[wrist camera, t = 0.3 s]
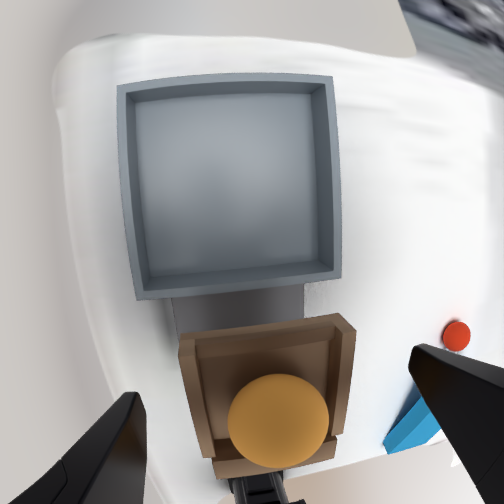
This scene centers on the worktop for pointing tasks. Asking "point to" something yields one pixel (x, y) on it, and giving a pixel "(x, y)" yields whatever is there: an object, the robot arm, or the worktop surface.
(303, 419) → the ball
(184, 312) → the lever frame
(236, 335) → the brown wooden angled piece
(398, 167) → the worktop surface
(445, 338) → the lever
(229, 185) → the bin
